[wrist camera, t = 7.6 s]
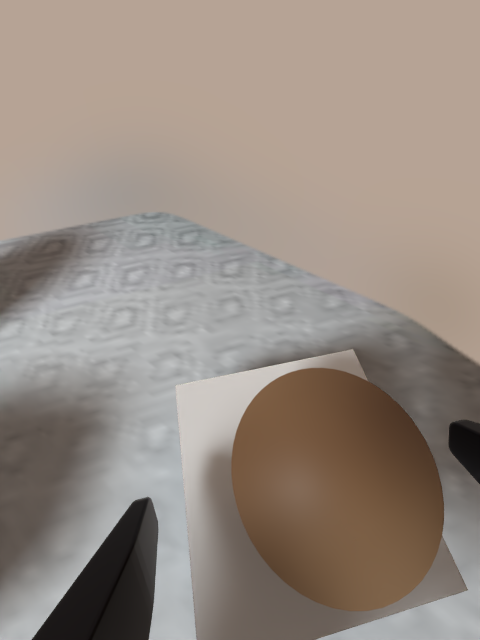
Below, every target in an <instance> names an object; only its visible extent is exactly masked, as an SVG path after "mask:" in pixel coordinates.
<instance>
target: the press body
mask: <svg viewBox="0 0 480 640" xmlns="http://www.w3.org/2000/svg"><path fill="white" fill-rule="evenodd" d="M307 368H329V369H336V370H340V371H344V372H347V373H350V374H353V375H356V376H358V377H360V378H362V379H364V380H367V381H368V379H367V377H366V375H365V373H364V371H363V369H362V367H361V365H360V363H359V360H358V358H357V356H356V354H355V352H354V350H353V349H351V350H346V351H341V352H337V353H332V354H327V355H322V356H317V357H312V358H307V359H302V360H297V361H292V362H288V363H283V364H278V365H273V366H268V367H263V368H258V369H253V370H248V371H243V372H238V373H234V374H229V375H224V376H219V377H214V378H209V379H204V380H199V381H194V382H189V383H184V384H180V385H175V387H176V399H177V411H178V423H179V435H180V447H181V459H182V471H183V482H184V494H185V506H186V518H187V530H188V542H189V554H190V566H191V577H192V589H193V601H194V613H195V625H196V637H197V640H315V639H318V638H321V637H324V636H327V635H330V634H334V633H337V632H340V631H343V630H346V629H349V628H352V627H355V626H358V625H361V624H365V623H368V622H371V621H374V620H377V619H380V618H383V617H386V616H389V615H392V614H396V613H399V612H402V611H405V610H408V609H411V608H414V607H417V606H420V605H423V604H426V603H430V602H433V601H436V600H439V599H442V598H445V597H448V596H451V595H454V594H457V593H461V592H464V591H467V590H468V589H467V587H466V585H465V583H464V581H463V578H462V576H461V574H460V572H459V570H458V568H457V566H456V564H455V562H454V560H453V557H452V555H451V553H450V551H449V549H448V547H447V545H446V543H445V541H444V539H443V537H442V538H441V541H440V545H439V549H438V552H437V555H436V557H435V559H434V561H433V564H432V566H431V568H430V569H429V571H428V572H427V574H426V575H425V577H424V578H423V580H422V581H421V582H420V583H419V584H418V585H417V586H416V587H415V588H414V589H413V590H412V592H410V593H409V594H408V595H406V596H405V597H403V598H402V599H400V600H399V601H397V602H395V603H393V604H390V605H388V606H386V607H383V608H379V609H374V610H370V611H346V610H340V609H334V608H331V607H328V606H325V605H322V604H319V603H316V602H315V601H313V600H311V599H309V598H307V597H305V596H303V595H301V594H300V593H298V592H297V591H296V590H294V589H293V588H292V587H290V586H289V585H288V584H286V583H285V582H284V581H283V580H282V579H281V578H280V577H279V576H278V575H277V574H276V573H275V572H274V571H273V570H272V569H271V568H270V567H269V566H268V564H267V563H266V562H265V561H264V559H263V558H262V557H261V556H260V554H259V553H258V551H257V549H256V548H255V546H254V545H253V543H252V541H251V540H250V538H249V536H248V534H247V532H246V529H245V527H244V525H243V523H242V520H241V517H240V514H239V512H238V509H237V505H236V501H235V496H234V492H233V485H232V475H231V458H232V450H233V443H234V439H235V435H236V431H237V428H238V425H239V423H240V420H241V418H242V416H243V414H244V412H245V410H246V408H247V407H248V405H249V404H250V403H251V401H252V400H253V398H254V397H255V396H256V395H257V394H258V393H259V392H260V391H261V390H262V389H263V388H264V387H265V386H267V385H268V384H269V383H270V382H272V381H273V380H275V379H277V378H278V377H280V376H283V375H285V374H287V373H289V372H293V371H296V370H300V369H307ZM368 382H369V381H368Z"/></svg>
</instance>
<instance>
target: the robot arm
mask: <svg viewBox="0 0 480 640" xmlns="http://www.w3.org/2000/svg"><path fill="white" fill-rule="evenodd" d="M449 448H450V451H451V452H452V454H453V455H454V456H455V457H456V458H457V459H458V460H459V462H460V463H461V464H462V465H463V466H464V467H465V468H466V469H467V471H468V472H469V473H470V474H471V475H472V476H473V477H474V478H475V479H476V481H477V482H478V483H479V484H480V424H479V423H475V422H472V421H469V420H459V421H455V422H452V423H451V424H450V426H449ZM157 542H158V520H157V517H156V513H155V510H154V506H153V503H152V500H151V498H149V497H146V498H142V499H138V500H135V501H134V502H133V503H132V504H131V505H130V507H129V508H128V509H127V511H126V512H125V514H124V515H123V516H122V518H121V519H120V520H119V522H118V523H117V524H116V526H115V527H114V529H113V530H112V531H111V533H110V534H109V535H108V537H107V538H106V539H105V541H104V542H103V543H102V545H101V546H100V548H99V549H98V550H97V552H96V553H95V554H94V556H93V557H92V558H91V560H90V561H89V563H88V564H87V565H86V567H85V568H84V569H83V571H82V572H81V573H80V575H79V576H78V577H77V579H76V580H75V582H74V583H73V584H72V586H71V587H70V588H69V590H68V591H67V592H66V594H65V595H64V597H63V598H62V599H61V601H60V602H59V603H58V605H57V606H56V607H55V609H54V610H53V611H52V613H51V614H50V616H49V617H48V618H47V620H46V621H45V622H44V624H43V625H42V626H41V628H40V629H39V631H38V632H37V633H36V635H35V636H34V637H33V639H32V640H149V633H150V626H151V619H152V612H153V603H154V590H155V574H156V558H157Z"/></svg>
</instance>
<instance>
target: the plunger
mask: <svg viewBox="0 0 480 640" xmlns="http://www.w3.org/2000/svg"><path fill="white" fill-rule="evenodd" d="M231 475H232V485H233V492H234V496H235V501H236V505H237V509H238V512H239V514H240V517H241V520H242V523H243V525H244V527H245V529H246V532H247V534H248V536H249V538H250V540H251V541H252V543H253V545H254V546H255V548H256V549H257V551H258V553H259V554H260V556H261V557H262V558H263V559H264V561H265V562H266V563H267V564H268V566H269V567H270V568H271V569H272V570H273V571H274V572H275V573H276V574H277V575H278V576H279V577H280V578H281V579H282V580H283V581H284V582H285V583H286V584H288V585H289V586H290V587H292V588H293V589H294V590H296V591H297V592H298V593H300V594H301V595H303V596H305V597H307V598H309V599H311V600H313V601H315V602H316V603H319V604H322V605H325V606H328V607H331V608H334V609H340V610H346V611H370V610H374V609H379V608H383V607H386V606H388V605H390V604H393V603H395V602H397V601H399V600H400V599H402V598H403V597H405V596H406V595H408V594H409V593H410V592H412V590H413V589H414V588H415V587H416V586H417V585H418V584H419V583H420V582H421V581H422V580H423V578H424V577H425V575H426V574H427V572H428V571H429V569H430V568H431V566H432V564H433V561H434V559H435V557H436V555H437V552H438V549H439V545H440V541H441V538H442V531H443V523H444V501H443V493H442V486H441V482H440V477H439V473H438V470H437V467H436V464H435V461H434V458H433V455H432V453H431V451H430V449H429V447H428V445H427V443H426V441H425V439H424V437H423V436H422V434H421V432H420V431H419V429H418V427H417V426H416V425H415V423H414V422H413V421H412V419H411V418H410V417H409V415H408V414H407V413H406V412H405V411H404V410H403V409H402V407H401V406H400V405H399V404H398V403H397V402H395V401H394V400H393V399H392V398H391V397H390V396H389V395H388V394H386V393H385V392H384V391H382V390H381V389H380V388H378V387H377V386H375V385H373V384H372V383H370V382H368V381H367V380H364V379H362V378H360V377H358V376H356V375H353V374H350V373H347V372H344V371H340V370H336V369H329V368H307V369H300V370H296V371H293V372H289V373H287V374H285V375H283V376H280V377H278V378H277V379H275V380H273V381H272V382H270V383H269V384H268V385H267V386H265V387H264V388H263V389H262V390H261V391H260V392H259V393H258V394H257V395H256V396H255V397H254V398H253V400H252V401H251V403H250V404H249V405H248V407H247V408H246V410H245V412H244V414H243V416H242V418H241V420H240V423H239V425H238V428H237V431H236V435H235V439H234V443H233V450H232V458H231Z"/></svg>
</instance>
